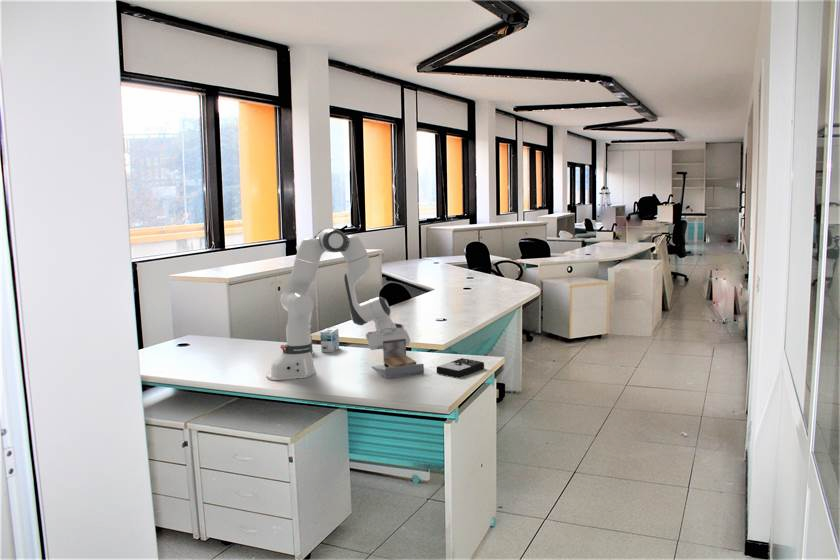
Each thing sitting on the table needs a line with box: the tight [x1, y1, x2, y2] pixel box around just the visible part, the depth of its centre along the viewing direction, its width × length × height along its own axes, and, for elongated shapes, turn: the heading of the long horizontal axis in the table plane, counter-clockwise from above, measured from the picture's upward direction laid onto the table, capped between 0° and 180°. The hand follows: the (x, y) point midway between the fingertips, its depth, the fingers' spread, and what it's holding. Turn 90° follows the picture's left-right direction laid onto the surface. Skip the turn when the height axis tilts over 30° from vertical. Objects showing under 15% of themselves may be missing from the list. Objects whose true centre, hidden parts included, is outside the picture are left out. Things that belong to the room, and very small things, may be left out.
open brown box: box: [382, 339, 417, 368], centre depth 316 cm, size 11×14×12 cm
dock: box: [370, 363, 425, 380], centre depth 319 cm, size 18×24×6 cm
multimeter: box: [436, 357, 485, 379], centre depth 313 cm, size 13×19×5 cm
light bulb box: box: [320, 327, 340, 353], centre depth 363 cm, size 11×7×11 cm, turn 168°
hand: (393, 354), depth 323 cm, fingers closed, pressing on open brown box
